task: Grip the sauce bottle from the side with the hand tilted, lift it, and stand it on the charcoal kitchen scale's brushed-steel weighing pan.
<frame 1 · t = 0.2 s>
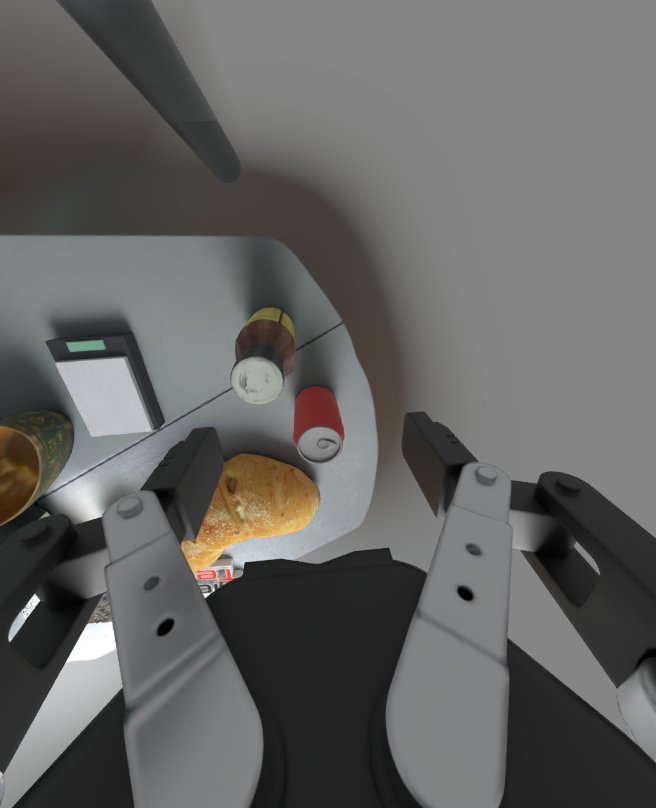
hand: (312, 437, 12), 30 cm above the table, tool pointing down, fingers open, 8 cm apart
creamer: (39, 446, 43), on the table
bread: (228, 497, 51), on the table, touching blue retail package
scale: (116, 383, 40), on the table
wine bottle: (73, 574, 49), point 5 cm above the table
stone slab: (102, 598, 60), on the table, touching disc
beer can: (315, 403, 44), on the table
logo: (190, 562, 56), point 1 cm above the table
sauce bottle: (273, 329, 39), on the table
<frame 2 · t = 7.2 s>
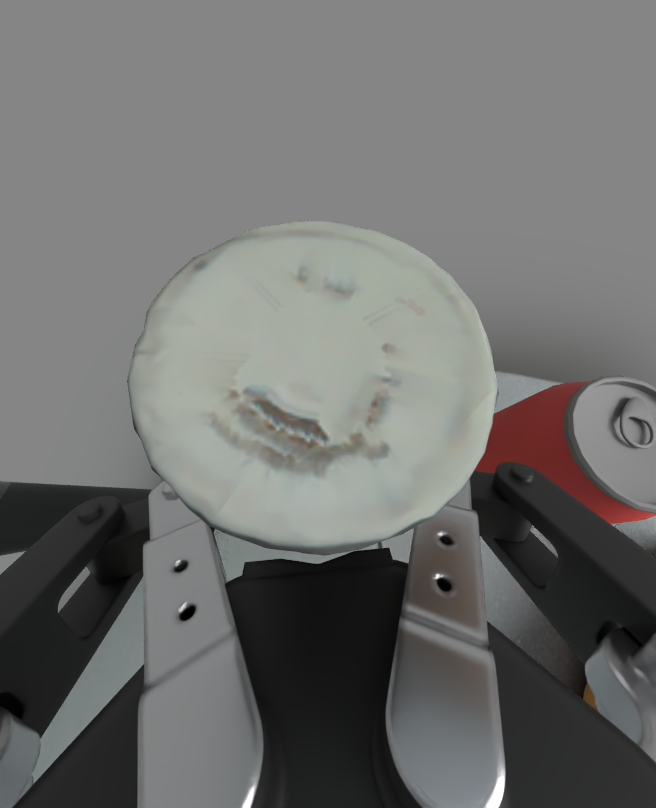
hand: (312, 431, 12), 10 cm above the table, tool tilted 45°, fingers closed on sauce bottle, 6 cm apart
beer can: (475, 469, 22), on the table
sauce bottle: (316, 482, 22), on the table, touching gripper
when the fingers open (13 cm above the table, at t = 16.1 s): sauce bottle stays where it is, resting on scale.
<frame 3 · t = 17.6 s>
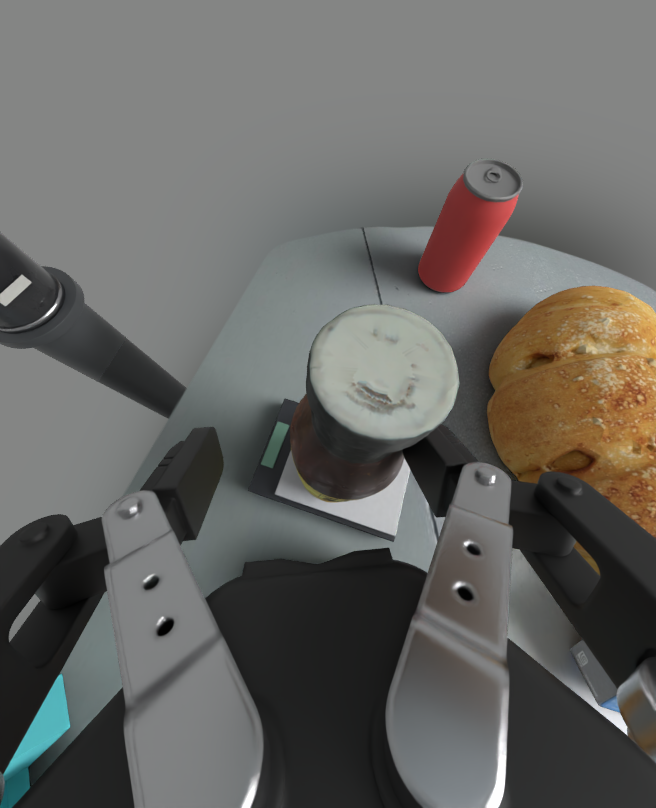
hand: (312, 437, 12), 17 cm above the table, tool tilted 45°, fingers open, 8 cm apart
blue retail package: (636, 692, 22), point 1 cm above the table, touching bread
bread: (568, 436, 30), on the table, touching blue retail package
scale: (334, 467, 29), on the table
beer can: (440, 276, 37), on the table
sauce bottle: (334, 465, 26), point 3 cm above the table, touching gripper, scale
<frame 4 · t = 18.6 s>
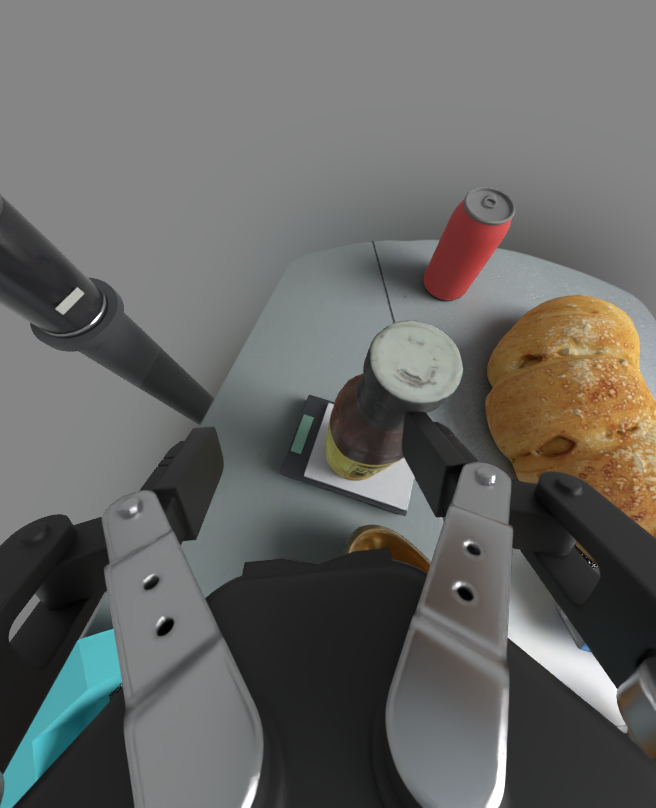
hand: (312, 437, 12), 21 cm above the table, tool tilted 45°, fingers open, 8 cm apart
creamer: (399, 629, 27), on the table
blue retail package: (611, 640, 27), point 1 cm above the table, touching bread
bread: (556, 427, 35), on the table, touching blue retail package
scale: (352, 454, 33), on the table
beer can: (443, 285, 42), on the table
sauce bottle: (354, 451, 30), point 3 cm above the table, touching gripper, scale
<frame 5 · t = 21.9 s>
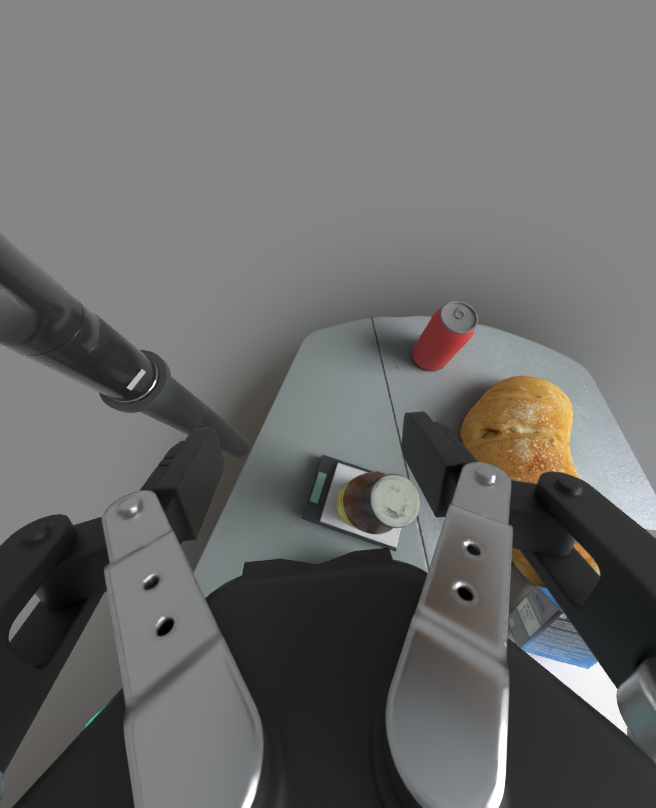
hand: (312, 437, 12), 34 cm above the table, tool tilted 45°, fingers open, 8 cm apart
blue retail package: (543, 643, 37), point 1 cm above the table, touching bread
bread: (513, 478, 45), on the table, touching blue retail package
scale: (355, 500, 43), on the table
beer can: (428, 356, 52), on the table
sauce bottle: (357, 502, 40), point 3 cm above the table, touching scale
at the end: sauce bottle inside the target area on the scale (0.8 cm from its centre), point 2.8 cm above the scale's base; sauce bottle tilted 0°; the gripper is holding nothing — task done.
